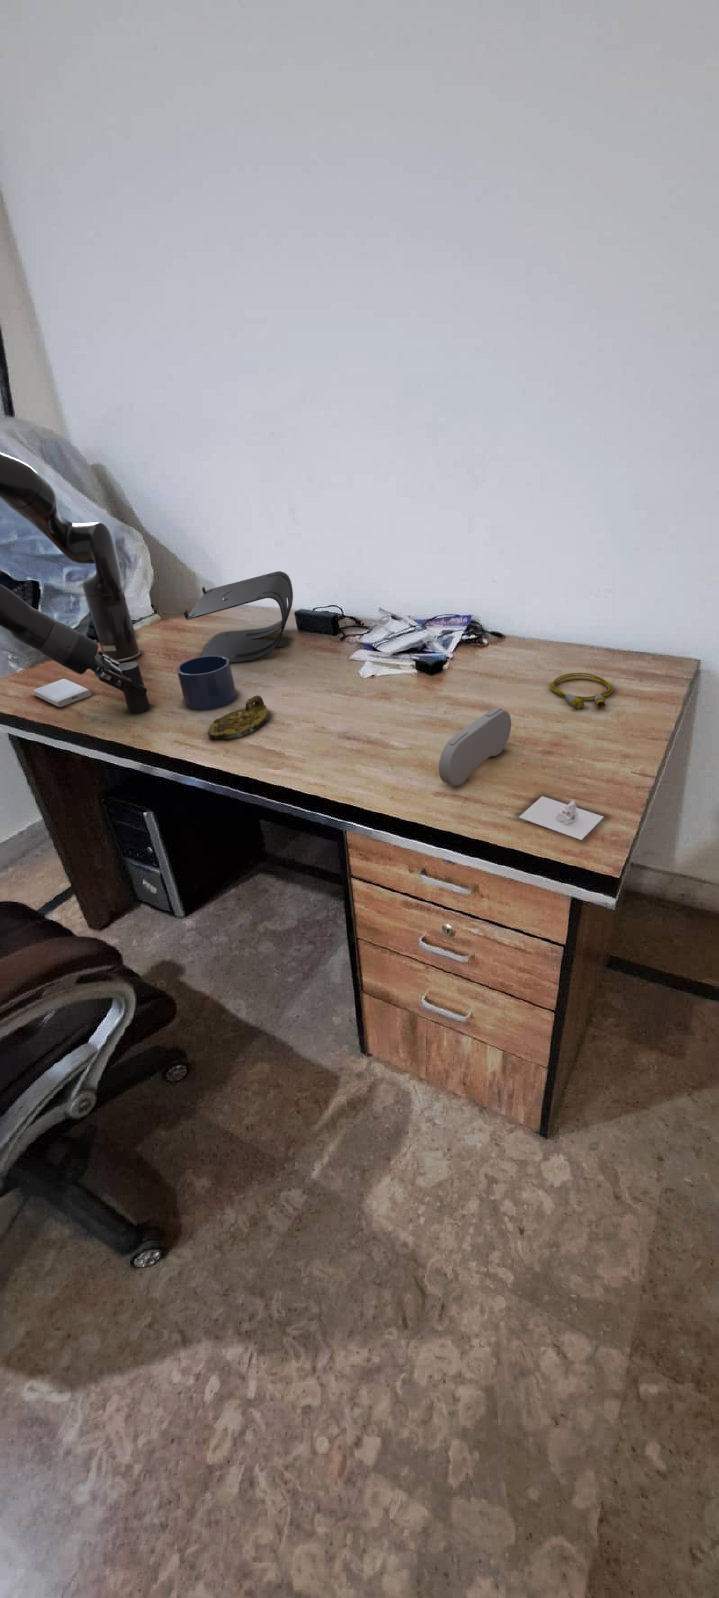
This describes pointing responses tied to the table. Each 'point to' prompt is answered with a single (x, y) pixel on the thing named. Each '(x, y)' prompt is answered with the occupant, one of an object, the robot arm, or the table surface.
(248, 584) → the laptop stand
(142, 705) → the canister
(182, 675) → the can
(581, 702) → the extension cord
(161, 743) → the table surface
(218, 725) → the bronze pendant
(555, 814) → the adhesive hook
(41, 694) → the hard drive
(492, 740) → the game controller
